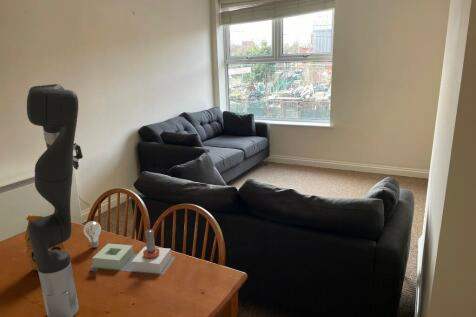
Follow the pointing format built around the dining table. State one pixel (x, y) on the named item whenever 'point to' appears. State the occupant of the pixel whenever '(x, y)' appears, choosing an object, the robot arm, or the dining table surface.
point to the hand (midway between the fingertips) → (64, 172)
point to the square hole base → (131, 260)
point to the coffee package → (29, 246)
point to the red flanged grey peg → (150, 245)
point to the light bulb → (92, 232)
